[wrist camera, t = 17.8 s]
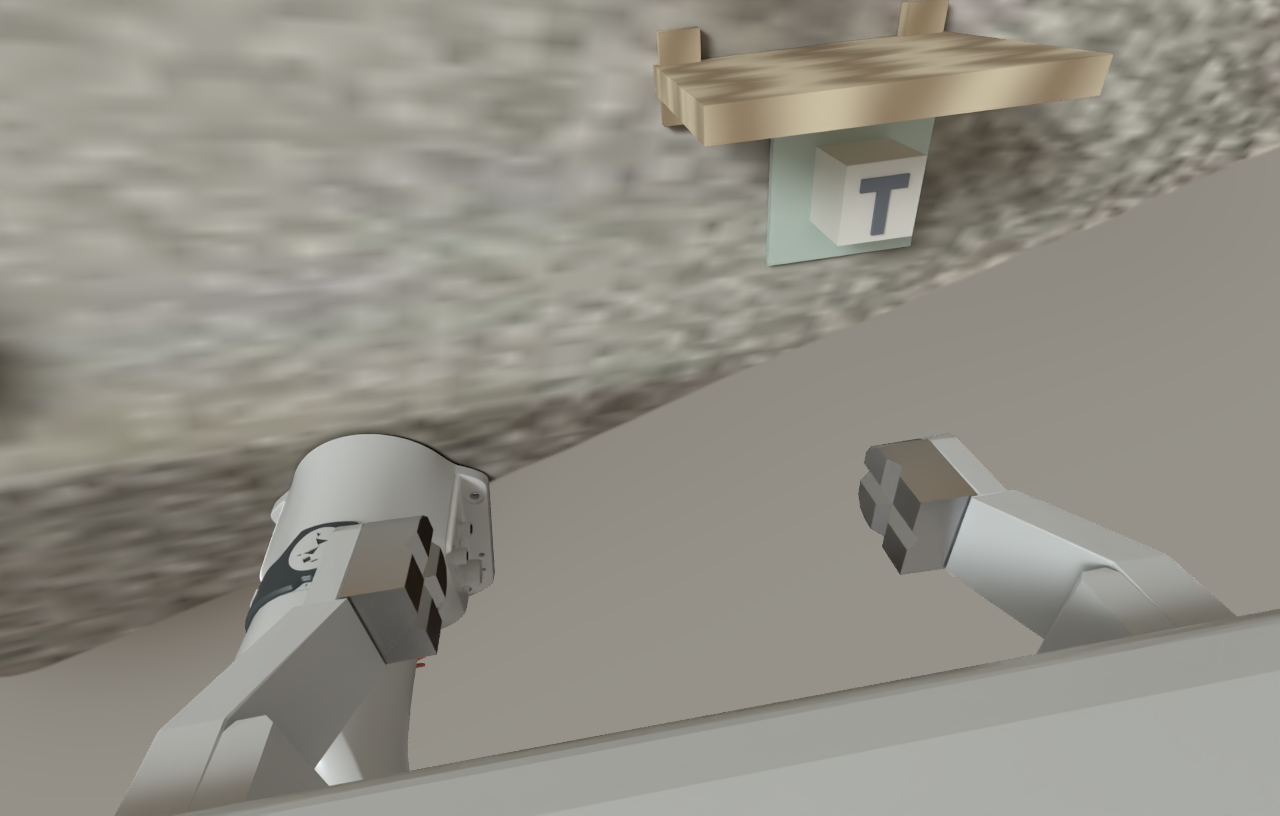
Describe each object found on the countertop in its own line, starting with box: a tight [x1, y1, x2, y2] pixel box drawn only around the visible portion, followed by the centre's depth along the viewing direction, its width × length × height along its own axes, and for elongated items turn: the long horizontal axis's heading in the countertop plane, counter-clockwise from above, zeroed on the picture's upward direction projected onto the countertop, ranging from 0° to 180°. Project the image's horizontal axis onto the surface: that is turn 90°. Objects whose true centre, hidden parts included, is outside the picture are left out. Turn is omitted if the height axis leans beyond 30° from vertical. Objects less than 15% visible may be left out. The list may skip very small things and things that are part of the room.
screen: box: [654, 0, 1114, 147], centre depth 31 cm, size 18×5×14 cm, turn 95°
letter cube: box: [810, 137, 927, 246], centre depth 39 cm, size 5×5×5 cm
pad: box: [766, 117, 935, 266], centre depth 41 cm, size 11×11×1 cm
